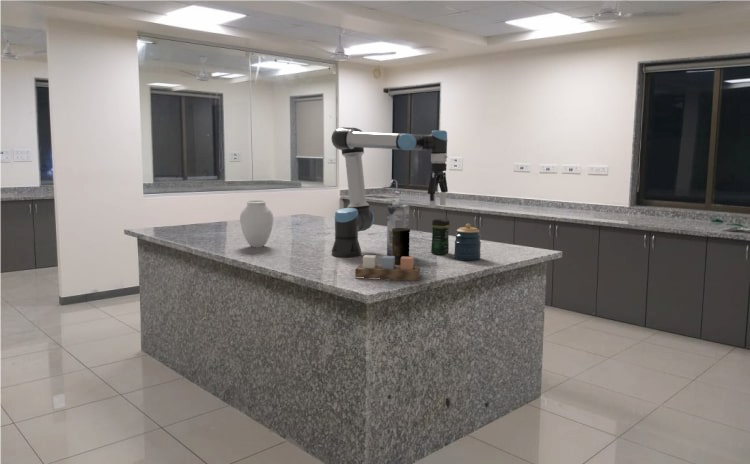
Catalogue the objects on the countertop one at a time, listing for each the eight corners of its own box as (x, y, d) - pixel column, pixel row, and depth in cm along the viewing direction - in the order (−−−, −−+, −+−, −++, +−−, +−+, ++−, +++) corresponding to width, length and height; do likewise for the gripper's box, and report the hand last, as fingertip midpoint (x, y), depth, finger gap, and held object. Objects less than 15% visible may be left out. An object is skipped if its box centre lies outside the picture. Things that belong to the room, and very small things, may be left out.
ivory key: (362, 271, 242) (362, 257, 241) (364, 268, 247) (364, 255, 246) (374, 271, 241) (374, 257, 240) (376, 269, 246) (376, 255, 245)
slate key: (381, 271, 241) (381, 257, 240) (383, 269, 246) (383, 255, 245) (393, 272, 240) (393, 258, 239) (394, 269, 245) (394, 256, 244)
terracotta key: (400, 272, 240) (400, 258, 239) (401, 270, 244) (401, 256, 244) (412, 273, 239) (412, 259, 238) (413, 270, 244) (413, 256, 243)
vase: (270, 249, 307) (269, 203, 303) (237, 249, 307) (235, 202, 303) (276, 244, 324) (275, 200, 321) (245, 243, 324) (243, 199, 321)
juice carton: (411, 255, 293) (411, 202, 289) (397, 257, 286) (398, 203, 282) (397, 253, 299) (398, 201, 295) (384, 255, 292) (384, 202, 288)
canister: (464, 255, 294) (465, 221, 292) (485, 258, 285) (487, 223, 282) (448, 258, 285) (449, 223, 282) (470, 262, 276) (471, 225, 273)
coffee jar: (442, 255, 293) (443, 219, 290) (428, 254, 297) (429, 218, 294) (451, 252, 301) (452, 217, 298) (437, 251, 305) (438, 216, 302)
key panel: (355, 278, 240) (355, 268, 239) (360, 272, 251) (360, 263, 250) (417, 280, 236) (417, 271, 235) (419, 275, 247) (420, 266, 246)
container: (389, 266, 265) (389, 227, 263) (408, 266, 266) (409, 227, 264) (391, 270, 256) (392, 230, 254) (411, 270, 257) (412, 230, 255)
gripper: (436, 163, 266) (435, 209, 269) (454, 162, 287) (453, 204, 291) (421, 163, 269) (420, 208, 272) (440, 162, 291) (439, 203, 294)
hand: (437, 206), depth 281 cm, fingers open, 13 cm apart
